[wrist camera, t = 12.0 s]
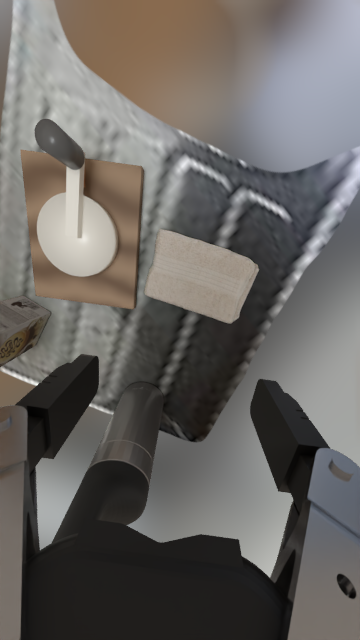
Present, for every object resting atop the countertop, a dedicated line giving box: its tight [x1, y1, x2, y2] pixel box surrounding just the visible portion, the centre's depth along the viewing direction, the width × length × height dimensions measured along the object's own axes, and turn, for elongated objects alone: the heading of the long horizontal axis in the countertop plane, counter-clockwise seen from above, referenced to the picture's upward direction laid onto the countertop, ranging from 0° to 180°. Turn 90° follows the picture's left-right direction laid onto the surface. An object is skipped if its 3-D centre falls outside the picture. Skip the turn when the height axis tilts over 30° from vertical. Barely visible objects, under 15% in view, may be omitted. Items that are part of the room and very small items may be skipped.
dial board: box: [21, 150, 144, 309], centre depth 34 cm, size 22×18×2 cm
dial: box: [35, 119, 118, 277], centre depth 28 cm, size 18×12×8 cm
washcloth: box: [144, 229, 259, 323], centre depth 35 cm, size 12×18×3 cm, turn 73°
